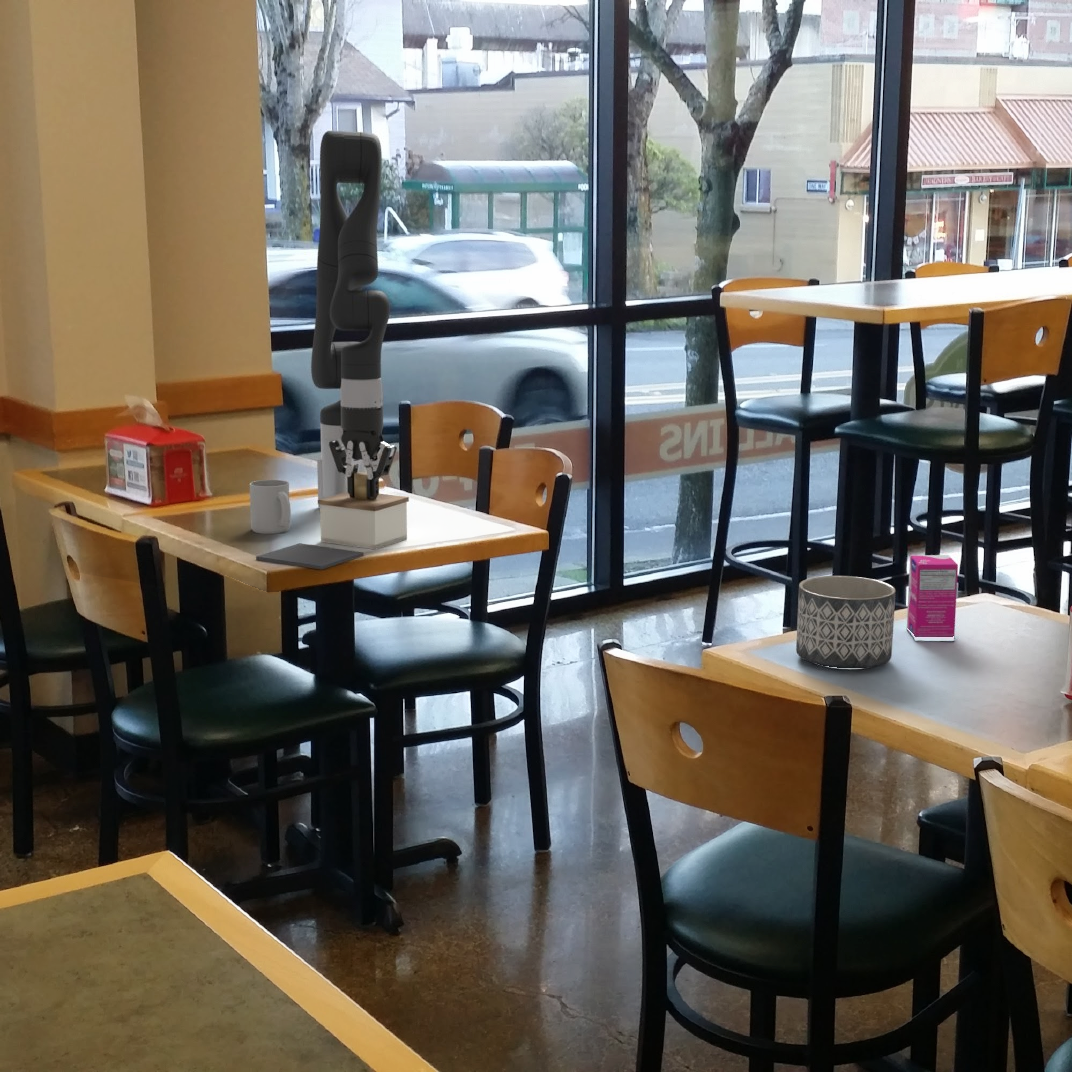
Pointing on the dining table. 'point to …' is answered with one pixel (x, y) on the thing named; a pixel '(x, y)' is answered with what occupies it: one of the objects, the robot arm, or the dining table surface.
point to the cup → (270, 506)
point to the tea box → (363, 526)
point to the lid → (362, 497)
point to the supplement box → (932, 595)
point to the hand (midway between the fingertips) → (363, 497)
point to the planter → (845, 621)
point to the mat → (310, 556)
